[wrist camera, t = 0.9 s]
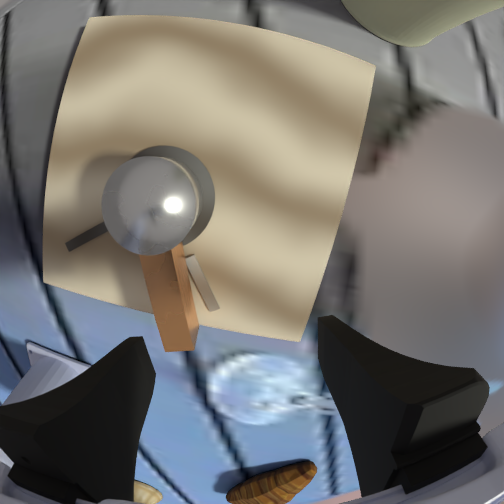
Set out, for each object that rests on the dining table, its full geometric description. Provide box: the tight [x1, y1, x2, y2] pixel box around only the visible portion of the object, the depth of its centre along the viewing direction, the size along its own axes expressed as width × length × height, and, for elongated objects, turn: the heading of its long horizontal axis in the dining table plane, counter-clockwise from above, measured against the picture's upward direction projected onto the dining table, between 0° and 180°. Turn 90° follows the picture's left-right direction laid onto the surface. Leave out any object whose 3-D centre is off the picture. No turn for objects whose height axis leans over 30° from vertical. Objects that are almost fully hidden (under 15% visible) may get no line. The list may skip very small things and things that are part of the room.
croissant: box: [226, 461, 317, 504], centre depth 27 cm, size 14×7×5 cm, turn 130°
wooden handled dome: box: [101, 156, 203, 352], centre depth 16 cm, size 11×5×3 cm, turn 6°
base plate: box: [43, 15, 376, 342], centre depth 17 cm, size 20×20×2 cm
